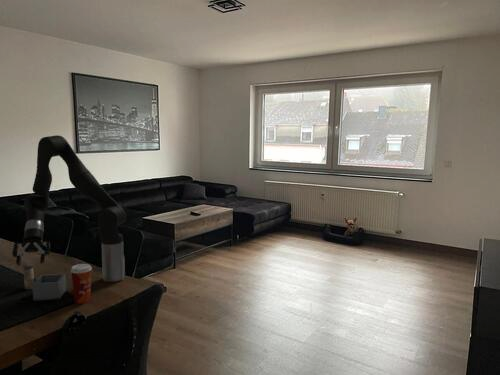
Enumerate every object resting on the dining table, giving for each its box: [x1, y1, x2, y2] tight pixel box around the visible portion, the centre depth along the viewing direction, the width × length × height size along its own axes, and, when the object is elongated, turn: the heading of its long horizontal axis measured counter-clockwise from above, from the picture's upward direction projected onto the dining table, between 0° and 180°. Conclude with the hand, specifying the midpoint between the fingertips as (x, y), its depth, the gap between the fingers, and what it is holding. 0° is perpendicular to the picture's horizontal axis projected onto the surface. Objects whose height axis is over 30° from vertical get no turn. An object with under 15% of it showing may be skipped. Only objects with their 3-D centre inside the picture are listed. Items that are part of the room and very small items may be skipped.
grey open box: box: [32, 273, 67, 302], centre depth 149 cm, size 9×9×7 cm
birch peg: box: [22, 263, 35, 290], centre depth 155 cm, size 4×4×10 cm
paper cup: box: [70, 263, 93, 304], centre depth 144 cm, size 8×8×14 cm
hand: (30, 264), depth 159 cm, fingers open, 8 cm apart
